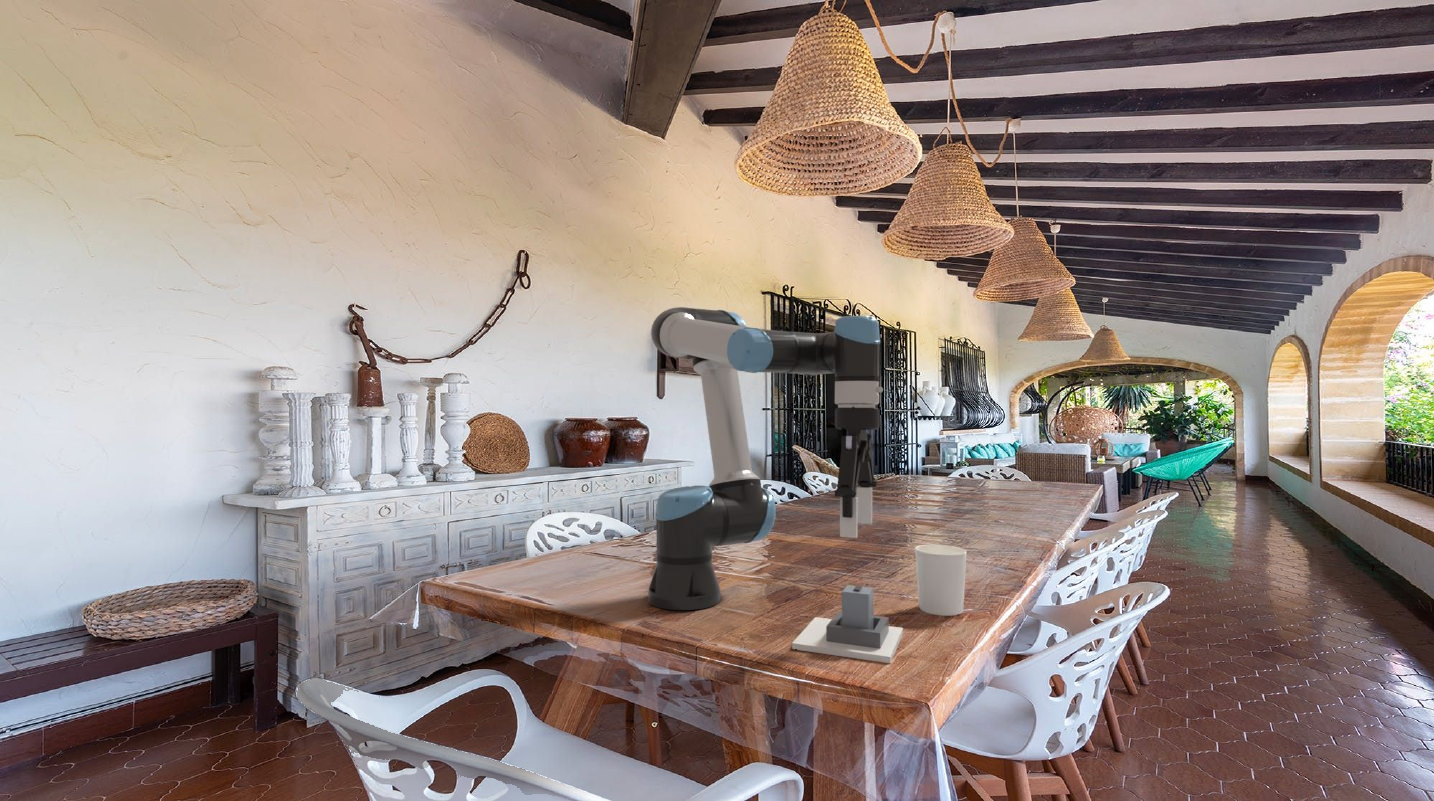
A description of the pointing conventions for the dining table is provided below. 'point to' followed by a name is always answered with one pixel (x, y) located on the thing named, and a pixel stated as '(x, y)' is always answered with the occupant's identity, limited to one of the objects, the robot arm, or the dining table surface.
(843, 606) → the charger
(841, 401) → the robot arm
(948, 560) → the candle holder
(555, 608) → the dining table surface
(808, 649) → the charging dock
